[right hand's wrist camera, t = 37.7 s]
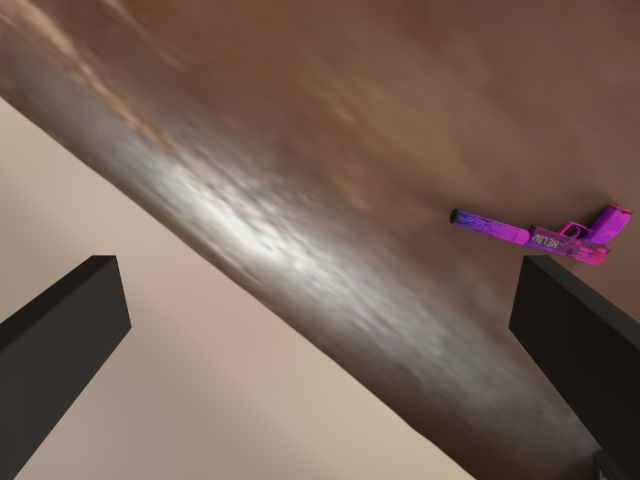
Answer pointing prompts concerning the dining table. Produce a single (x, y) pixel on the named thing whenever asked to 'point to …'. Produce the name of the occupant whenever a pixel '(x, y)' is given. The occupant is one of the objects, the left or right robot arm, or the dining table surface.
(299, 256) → the dining table surface
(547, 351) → the right robot arm
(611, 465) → the router box
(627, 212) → the handgun
